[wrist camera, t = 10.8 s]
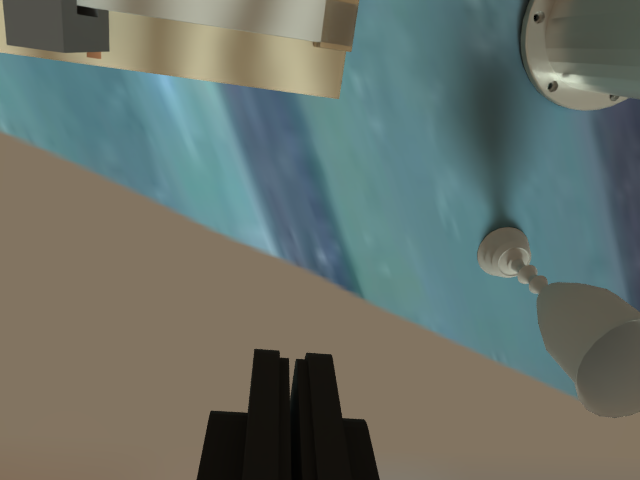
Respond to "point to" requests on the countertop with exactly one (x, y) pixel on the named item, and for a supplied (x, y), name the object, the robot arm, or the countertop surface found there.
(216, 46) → the pipe rig
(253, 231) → the countertop surface
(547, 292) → the chalice
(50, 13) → the collar
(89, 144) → the countertop surface
